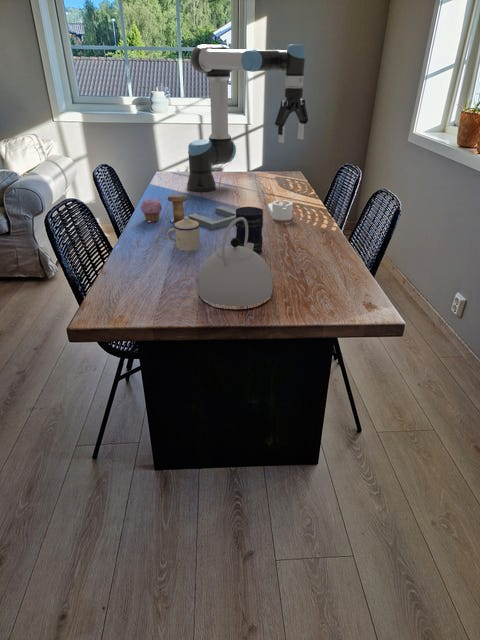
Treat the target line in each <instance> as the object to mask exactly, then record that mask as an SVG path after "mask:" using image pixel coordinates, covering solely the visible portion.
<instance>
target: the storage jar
mask: <svg viewBox="0 0 480 640" xmlns="http://www.w3.org/2000/svg"><path fill="white" fill-rule="evenodd" d="M235 210H236V218H235V219H237V218H239V217H244V218H245V219H246V221H247V224H248V240H247V243H253V244H254V247H253V251H254V252H256V253H257V254H258V255H260V254H262V252H263V249H262V248H263V243H264V242H263V241H264V239H263V228H264V209H262V208H260V207H255V206H242V207H238V208H236V209H235ZM234 225H235V227H236V228H235V229H236V236H235V238H237V239H239V241H240V244H239V246H242V247H244V242H245V233H246V230H245V223H244V221H243V220H239V221H237V222H236V223H235V224H234Z"/></svg>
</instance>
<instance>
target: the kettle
mask: <svg viewBox="0 0 480 640" xmlns="http://www.w3.org/2000/svg"><path fill="white" fill-rule="evenodd" d="M239 220H243V221H244V223H245V230H246V233H245V242H244V247H242V246H239V244H240V241H239V239H237V238H236V237H233V238H232V239H231V240H230V245H229V246H226V242H227V239H228V238H227V237H228V235H229V233H230V230H231V228H232V227H233V225H235V224H236V222H237V221H239ZM226 228H227V229H225V232H224V235H223V239H222V243H221V248H220V249H218V250H216V251H215V252H214V253H212V254H211V255H210V256H209V257H208V258H207V259H206V260H205V261H204V263H203V265H202V267H201V268H200V272H199V275H198V281H197V289H198V290H197V293H198V292H199V294H200V296H201V297H202V298H204V299H205V300H207V301H208V302H211V303H214V304H219V305H225V306H247V305H253V304H257V303H260V302H262V301H264V300H266V299H267V298H269V297H270V296H271V294H272V290H273V287H274V286H273V276H272V273H271V272H272V271H271V270H270V267H269V265H268V264H267V262H266V261H265V259H264V258H263V257H262V256H261V255H260V254H257V253H256V252H254V251H253V247H254V244H253V243H247V240H248V224H247V221H246V219H245V218H244V217H239V218H237V219H235V220H234V221H232V222H231V223H230V225H227V227H226Z"/></svg>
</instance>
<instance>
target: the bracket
mask: <svg viewBox="0 0 480 640" xmlns="http://www.w3.org/2000/svg"><path fill="white" fill-rule="evenodd" d="M293 205H294V203H293V201H292V200H287V199H283V200H282V202H280V200H279V199H278V200H273V202H269V203H268V204H267V210H268V213H269V214H270V216H271V218H272V219H273V220H276V221H289V220H291V219H292V218H293Z"/></svg>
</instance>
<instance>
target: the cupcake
mask: <svg viewBox="0 0 480 640" xmlns="http://www.w3.org/2000/svg"><path fill="white" fill-rule="evenodd" d="M162 209H163V208H162V204H161V202H160V200H158V199H153V198H147V199H144V200H143V202H142V203H141V205H140V210H141V212H142V213H143V216H144V218H145V221H146V220H147V221H151V222H150V223H153V222H152V221H158V220H159V221H160V214H161V211H162ZM147 221H146V222H147ZM159 221H158V222H159Z"/></svg>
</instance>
